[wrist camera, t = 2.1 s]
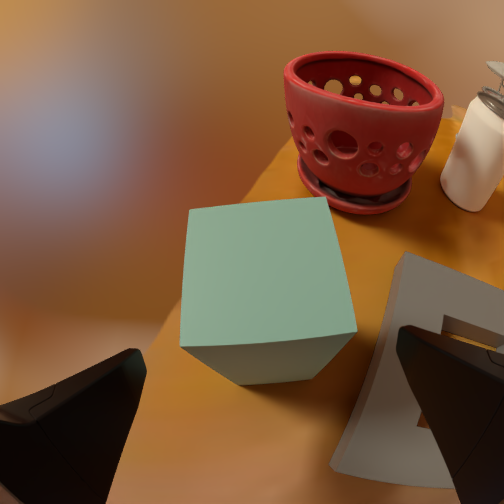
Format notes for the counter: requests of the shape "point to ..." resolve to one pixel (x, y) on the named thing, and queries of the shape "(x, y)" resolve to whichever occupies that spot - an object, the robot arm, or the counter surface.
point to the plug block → (265, 290)
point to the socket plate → (394, 380)
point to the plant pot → (360, 128)
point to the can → (476, 155)
